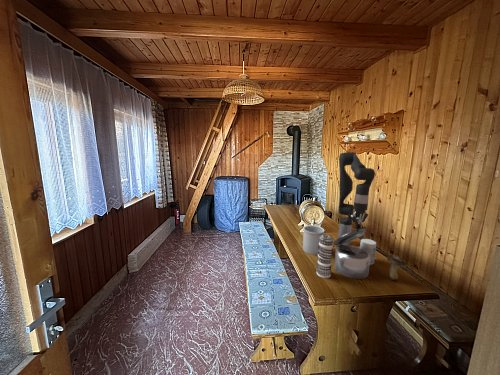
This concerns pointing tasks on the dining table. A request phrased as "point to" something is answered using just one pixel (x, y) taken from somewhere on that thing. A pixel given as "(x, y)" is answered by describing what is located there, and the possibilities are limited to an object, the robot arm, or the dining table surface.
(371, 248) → the supplement tub
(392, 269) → the mushroom
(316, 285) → the dining table surface
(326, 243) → the decorative candle
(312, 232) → the utensil holder
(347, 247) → the cooker pot
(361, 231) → the cooker lid
